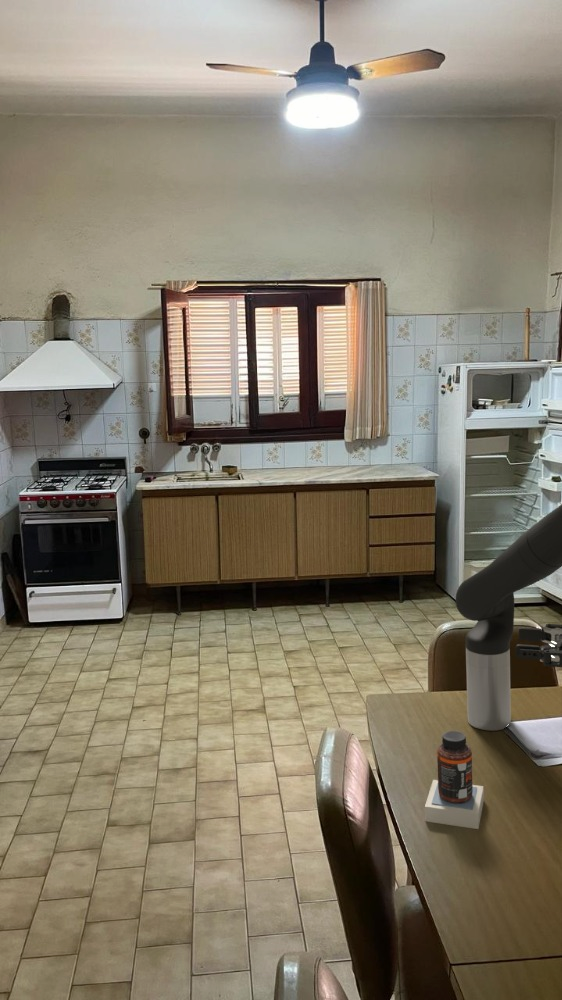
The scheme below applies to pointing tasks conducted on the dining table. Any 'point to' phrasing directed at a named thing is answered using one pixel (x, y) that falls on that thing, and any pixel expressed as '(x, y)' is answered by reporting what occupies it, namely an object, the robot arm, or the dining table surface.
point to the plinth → (454, 808)
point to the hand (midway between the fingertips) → (517, 642)
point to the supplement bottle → (454, 768)
